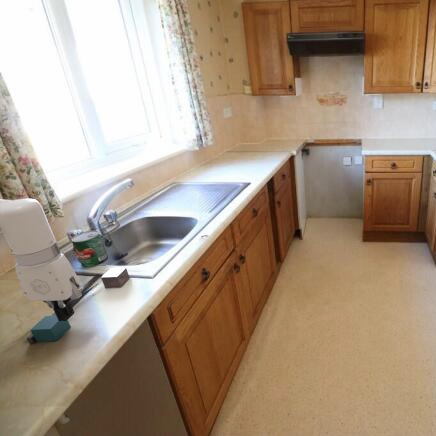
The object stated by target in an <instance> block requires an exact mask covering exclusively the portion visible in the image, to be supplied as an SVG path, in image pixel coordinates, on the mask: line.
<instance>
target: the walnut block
mask: <svg viewBox="0 0 436 436" xmlns="http://www.w3.org/2000/svg"><path fill="white" fill-rule="evenodd" d="M130 278H131V277H130V274H129V271H128V269H127V267H111V268H109V269H107V270H106V272H105V273H104V274H102V276H101V277H100V280H101V282H102V284H103V286H104V289H116V288H118V289H120V288H122V287H123V286H124V285H125V284H126V283H127V282H128V280H129V279H130Z"/></svg>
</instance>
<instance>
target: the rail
mask: <svg viewBox="0 0 436 436" xmlns="http://www.w3.org/2000/svg"><path fill="white" fill-rule="evenodd" d="M101 277H102V276H101V274H100V273H97V274H95V275H94V276H93V277H91V279H89V280H88V281H87V282H86V283H85V284H84V285H83V286H82V287H80V288H79V289H78V290H79V291H80V292H81V294H82V295H81V296H80V297H79V298H78V299H75V300H71V301H70V303H71V305H72V307H73V308H74V307H75V306H76V305H77V304H78V303H79V302H80V301H81V300H82V299H83V298H84V297H85V296H86V295H87V294H88V293H89V292H90V291H92V290H93V289H94V287H95V284H96V282H98V280H99V279H101ZM54 315H56V314H55V312H53V313H52V314H51V315H50V316H54ZM26 340H27V342H28V344H29V345H35V344H37V343H38V342H37V341H36V340H35V338H34V336H33V334H32V333H30V334H29V335H28V336H27V337H26Z"/></svg>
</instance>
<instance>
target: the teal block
mask: <svg viewBox="0 0 436 436" xmlns="http://www.w3.org/2000/svg"><path fill="white" fill-rule="evenodd" d="M71 327H72V326H71V323H70V322H69V319H68V320H67V321H59V320H58V318H57V316H56V315H54V316H51V315H44V317H43V318H42V319H41V320H39V321H38V322H37V323H36V324H35V325H34V326H33V327H31V328H30V334H33V336H34V338H35V340H36V341H37V342H36V343H45V342H46V343H47V342H58V341H59V340H60V339H61V337H62V336H64V335H65V334H66V332H67V331H68V330H69V329H70V328H71Z"/></svg>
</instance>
